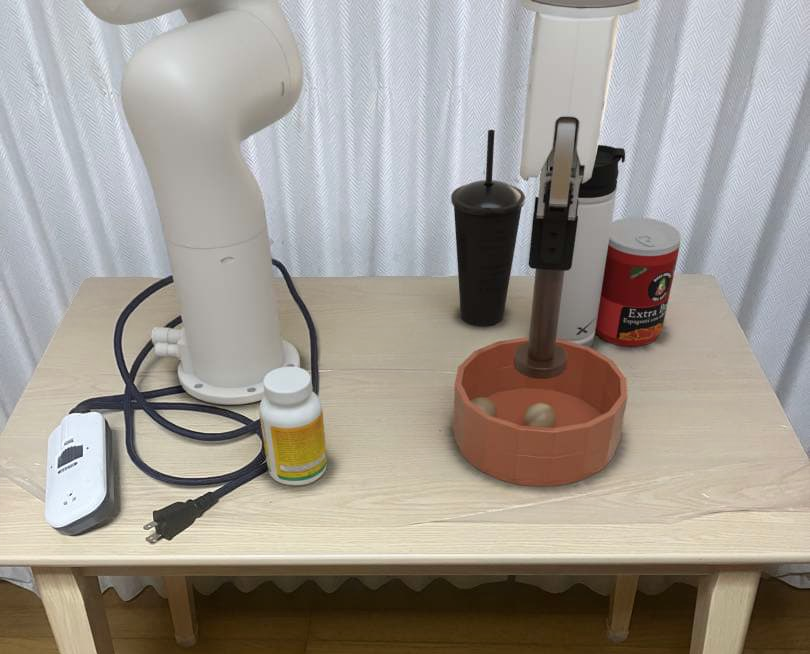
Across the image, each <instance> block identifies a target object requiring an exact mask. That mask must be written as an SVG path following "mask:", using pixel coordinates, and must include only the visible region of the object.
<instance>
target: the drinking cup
mask: <svg viewBox="0 0 810 654" xmlns="http://www.w3.org/2000/svg"><path fill="white" fill-rule="evenodd" d="M495 136H496V130H495V129H488V130H487V141H486V142H487V146H486V163H485V165H486V166H485V179H483V180H481V179H480V180H476V181H472V182H470V183H467V184H464V185H461V186H459V187H457V188H455V189H454V190H453V191H452V193H451V194H450V203H451V205H452V206H453V213H454V228H455V229H454V231H455V246H456V260H457V261H456V263H457V274H458V275H457V277H458V291H459V294H458V295H459V305H460V306H459V307H460V318H461V319H462V320H463V322H465V323H467V324H469V325H472V326H475V327H489V326H494V325H496V324H499V323H500V322H502V320H503V318H504V314H505V309H506V303H507V297H508V291H509V285H510V280H511V273H512V267H513V261H514V256H515V251H516V243H517V238H518V231H519V226H520V219H521V214H522V208H523V207H524V205H525V204H526V194H525V193H524V191H523V190H522V189H520V188H519V187H517V186H514V185H511V184H509V183H506V182H505V181H500V180H495V179H494V180H493V175H494V174H493V173H494V158H495V157H494V155H495V138H496V137H495Z"/></svg>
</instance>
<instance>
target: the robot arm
mask: <svg viewBox="0 0 810 654" xmlns="http://www.w3.org/2000/svg"><path fill="white" fill-rule="evenodd" d="M81 2H82V3H83V4H84V6H85V7H86V8H87V9H88V11H90V12H91V13H92V14H93V15H94V16H95V17H96V18H97V19H99V20H101V21H103V22H105V23H108V24H110V25H116V26H127V25H132V24H138V23H142V22H146V21H149V20H153V19H155V18H158V17H161V16H165V15H167V14H170V13H172V12H176V11H178V10H180V11H181V14H182V15H183V17H184V18H185V20H186V22H187V23H186V24H183V25H180V26H178V27H174V28H172V29H170V30H167V31H164V32H161V33H159V34H157V35H155V36H153V37H151V38H150V39H148V40H147V41H145V42H144V43H143V44H141V45H140V46H139V47H138V48H137V49H136V50H135V51H134V52H133V53H132V54H131V56H130V57H129V59H128V60H127V62H126V64H125V66H124V69H123V72H122V74H121V75H122V76H121V80H120V100H121V107H122V109H123V113H124V116H125V119H126V123H127V124H128V127H129V129H130V132H131V135H132V137H133V139H134V141H135V143H136V146H137V148H138V151H139V153H140V156H141V158H142V161H143V164H144V167H145V170H146V172H147V175H148V179H149V182H150V185H151V189H152V192H153V193H152V194H153V195H154V196H153V197H154V200H155V204H156V208H157V212H158V218H159V221H160V227H161V230H162V231H161V232H162V235H163V238H164V243H165V248H166V252H167V257H168V262H169V265H170V266H169V268H170V271H171V275H172V279H173V280H172V281H173V285H174V289H175V290H174V291H175V295H176V299H177V304H178V308H179V312H180V317H181V322H182V327H181V328H180V329H179V328H172V327H162V326H160V327H159V326H154V327H153V328H152V330H151V336H150V337H151V342H152V344H153V346H154V355H155V356H156V357H162V358H170V357H172V358H173V357H174V358H177V360H179V363H178V366H177V376H178V380H179V384H180V385H181V388H182V390H184V391H185V392H186V393H187V394H188V395H190V396H192V397H193V398H195V399H198V400H200V401H203V402H206V403H211V404H215V405H226V406H227V405H228V406H231V405H233V406H234V405H244V404H245V405H246V404H252V403H257V402H261V401H262V399H263V398H264V397H265V394H264V385H263V380H264V377H265V376H266V375H267V374H268V373H269V372H271V371H273V370H275V369H278V368H281V367H299V368H302V367H301V358H300V357H301V356H300V353H299V351H298V350H297V348H296V347H295V346H294V345H293V344H291V342H289V341H288V340H285V339H283V336H282V329H281V321H280V314H279V313H280V312H279V305H278V297H277V291H276V290H277V289H276V283H275V282H276V281H275V274H274V266H273V260H272V252H271V244H270V237H269V229H268V222H267V215H266V208H265V207H266V206H265V201H264V197H263V193H262V190H261V188H260V184H259V182H258V181H257V179H256V176H255V174H254V173H253V171H252V170H251V168H250V166H249V165H248V163H247V162H246V160H245V158H244V156H243V153H242V148H241V144H242V142H244V141H245V140H248V139H249V138H250V137H251V136H253V135H255V134H257V133H259V132H260V131H263V130H264V129H266V128H268V127H270V126H271V125H274V124H275V123H277V122H278V121H280V120H282V119H283V118H285V117H286V116H287V115H288V114H289V113H290V112H291V111H292V110H293V109H294V107H295V106H296V104H297V103H298V101H299V99H300V97H301V93H302V89H303V85H304V84H303V83H304V69H303V68H304V67H303V61H302V56H301V53H300V50H299V46H298V43H297V40H296V38H295V35H294V33H293V30H292V28H291V25H290V24H289V21H288V19H287V17H286V15H285V12H284V11H283V8H282V6H281V4H280V2H279V0H81ZM519 3H520V6H522V7H523V8H524V9H526V10H529V11H531V12H535V14H534V15H535V16H534V21H533V29H532V34H531V35H532V36H531V43H530V53H529V63H528V70H527V71H528V72H527V82H526V95H525V109H524V119H523V132H522V142H521V143H522V144H521V155H520V165H519V175H520V177H521V179H522V180H524V181H526V182H528V181H529V178H535V179H538V177H539V189H538V196H535V198H534V208H533V213H532V224H531V234H530V245H529V246H530V247H529V255H528V266H529V268H530V269H534V270H536V269H546V270H562V271H568V270H570V269H571V267H572V260H573V253H574V245H575V238H576V230H577V223H578V216H577V210H578V202H579V199H578V192H579V185H580V182H581V178H582V184H583V183H585V182H586V181H588V180H589V179H590V178H591V176H592V171H593V167H594V162H595V158H596V153H597V148H598V145H599V143H600V137H601V134H602V127H603V123H604V117H605V113H606V106H607V102H608V101H607V100H608V96H609V89H610V82H611V78H612V77H611V76H612V69H613V64H614V57H615V51H616V44H617V38H618V37H617V36H618V30H619V23H620V17H621V16H625V15H628V14H632V13H634V12H636V11H637V10H639V9H640V8H641V6H642V0H519ZM571 168H572V171H571ZM547 185H551V189H547ZM569 186H571V190H569ZM546 190H547V191H546ZM545 205H546V206H545ZM544 213H545V214H544Z"/></svg>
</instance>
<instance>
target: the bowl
mask: <svg viewBox="0 0 810 654" xmlns="http://www.w3.org/2000/svg"><path fill="white" fill-rule="evenodd" d="M527 342H529V336H527V337H526V336H525V337H519V338H513V339H512V338H511V339H505V340H499V341H496V342H493V343H490V344H488V345H486V346H484V347H482V348H479V349H477V350H474V351H473V352H472V353H471V354H470V355H469V356H467V358H465V359H464V360H463V362H461V363H460V365H458V366H457V372H456V375H455V381H454V392H453V393H454V394H453V395H454V398H453V435H454V440H455V444H456V447H457V449H458V450H459V452H460V454H461V455H462V457H464V459H465V460H466V461H467V462H468V463H469V464H470V465H471V466H473V467H474V468H476V469H477V470H478V471H481V472H482V473H483V474H486V475H488V476H490V477H492V478H495V479H497V480H500V481H504V482H507V483H511V484H516V485H521V486H528V487H529V486H530V487H555V486H557V487H558V486H565V485H569V484H573V483H577V482H580V481H583V480H586V479H588V478H590V477H592V476H594V475H596V474H598V473H599V472H600V471H602V470H603V469H605V467H607V466H608V464H610V462H611V461H612V459H613V458H614V456H615V453H616V450H617V449H618V448H619V445H620V439H621V434H622V428H623V424H624V423H623V422H624V418H625V412H626V407H627V401H628V381H627V377H626V376H625V374H624V373H623V372H622V370H621V369H620V368H619V367H618V365H617V364H616V363H615V361H614V360H613V359H611V358H609V357H607V356H606V355H604V354H602V353H601V352H599V351H597V350H595V349H593V348H592V347H587V346H583V345H580V344H576V343H573V342H569V341H565V340H562V339H556V345H558V346H560V347H562V348H563V349H564V350H565V351H566V353H567V364H566V369H565V371H564V372H563V373H562V374H560V375H559V376H557V377H554V378H549V379H535V378H530V377H527V376H524V375H522V374H521V373H519V372H518V371H517V370H516V369H515V367H514V364H513V363H514V352H515V350H516V349H517V347H519V346H520V345H522V344H524V343H527ZM478 397H484V398H487V399H489V400H491V401H492V402H493V403H494V405H495V406H496V409H497V417H493V416H490V415H489V414H487V413H486V412H485V411H483V410H482V409H480V408H479V407H478V406H476V405H475V404H473V403H472V402H471V400H473V399H475V398H478ZM537 403H544V404H547V405H549V406H550V407H551V408H552V409H553V410H554V412H555V414H556V424H555V427H554V428H545V427H532V426H525V425H524V421H523V420H524V414H525V412H526V410H527V409H528V408H529V407H530V406H532V405H534V404H537Z"/></svg>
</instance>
